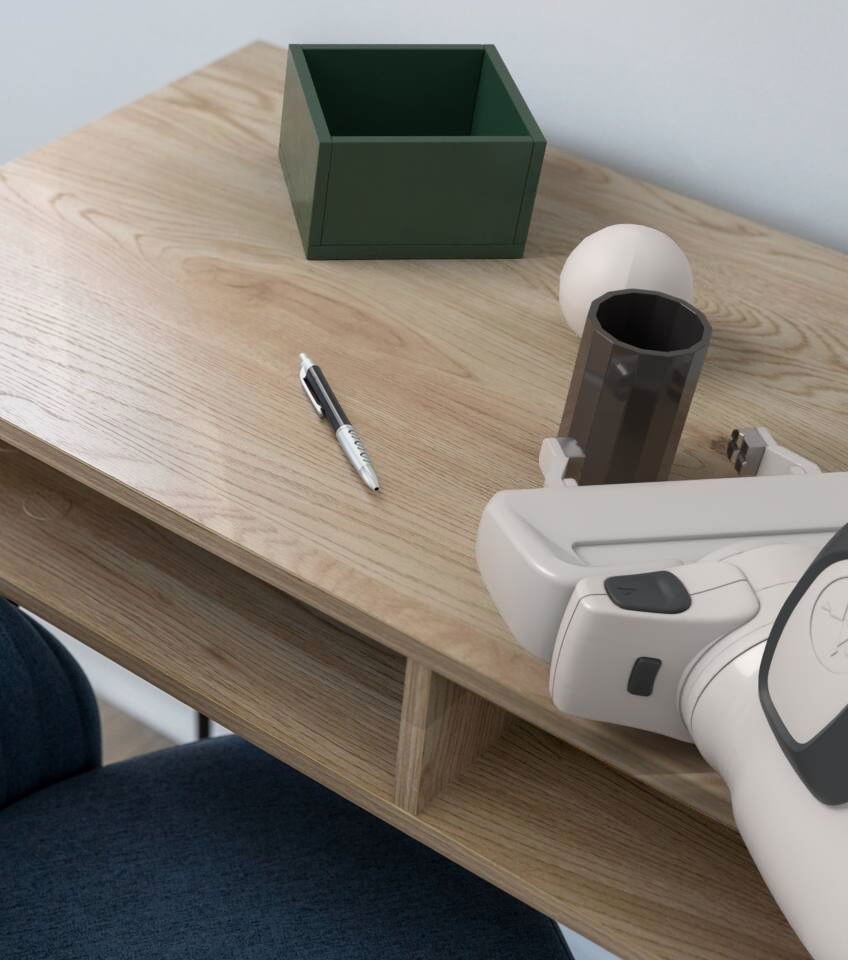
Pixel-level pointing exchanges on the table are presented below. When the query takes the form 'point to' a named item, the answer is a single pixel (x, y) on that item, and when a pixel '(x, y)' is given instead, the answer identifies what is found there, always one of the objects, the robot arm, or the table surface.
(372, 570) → the table surface
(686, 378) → the cup
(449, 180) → the bin
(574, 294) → the seamed sphere
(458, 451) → the table surface
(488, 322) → the table surface
